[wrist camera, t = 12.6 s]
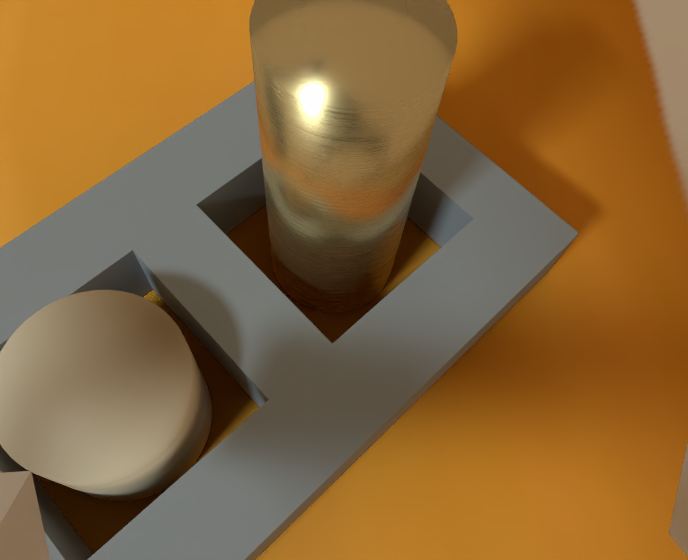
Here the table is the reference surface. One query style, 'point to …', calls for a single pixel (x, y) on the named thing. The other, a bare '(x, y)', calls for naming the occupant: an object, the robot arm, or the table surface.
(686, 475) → the robot arm
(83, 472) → the wooden plug
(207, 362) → the table surface
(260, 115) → the brass cylinder
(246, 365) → the jig plate
